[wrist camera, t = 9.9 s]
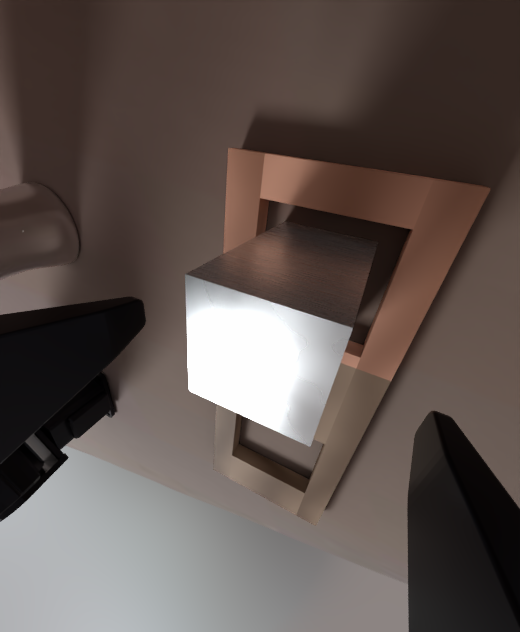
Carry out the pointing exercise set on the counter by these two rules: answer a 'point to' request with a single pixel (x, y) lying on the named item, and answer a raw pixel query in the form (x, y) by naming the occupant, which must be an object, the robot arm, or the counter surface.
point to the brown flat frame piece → (391, 317)
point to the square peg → (276, 323)
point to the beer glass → (34, 230)
